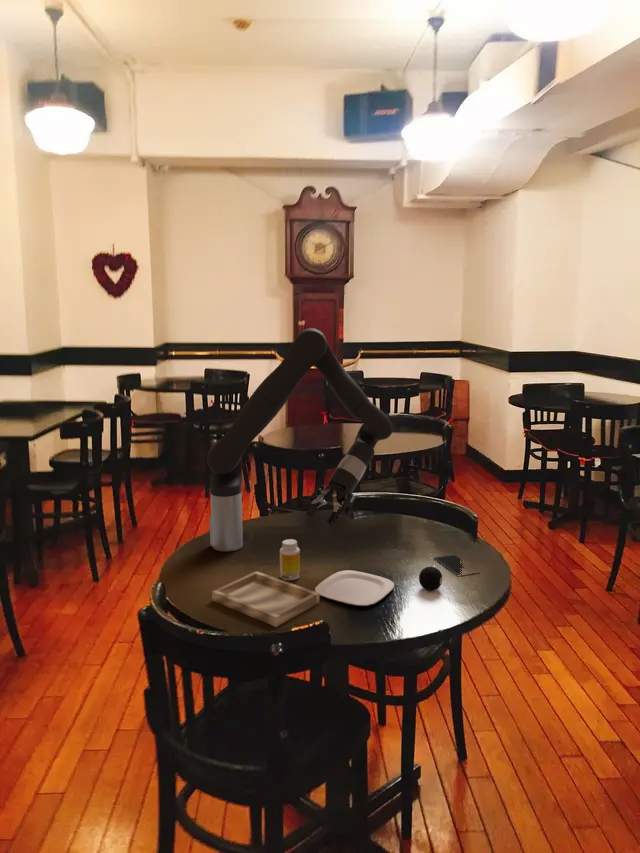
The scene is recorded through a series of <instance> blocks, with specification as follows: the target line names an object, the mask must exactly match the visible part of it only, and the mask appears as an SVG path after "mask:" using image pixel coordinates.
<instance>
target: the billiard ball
mask: <svg viewBox="0 0 640 853" xmlns="http://www.w3.org/2000/svg"><path fill="white" fill-rule="evenodd" d="M418 582H419V584H420V586H421V588H423V589H424V590H426V591H436V590H438V589H439V588H440V587H441V585H442V583H443V575H442V573H441V571H440V570H439V569H438V568H437V567H434V566H426V567H424V568H422V570H421V571H420V572H419V575H418Z"/></svg>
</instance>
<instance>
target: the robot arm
mask: <svg viewBox="0 0 640 853" xmlns="http://www.w3.org/2000/svg"><path fill="white" fill-rule="evenodd" d="M312 367H315V368H316V369H317V370H318V372H319V373H320V374H321V376H323V378H324V379H325V381H326V382H327V383H328V386H329V387H330V388H331V390H332V391H333V393H334V394H335V396H336V397H337V399H338V400H339V402H340V403H341V404H342V405H343V408H345V410H346V411H347V412H348V413H349V415H350V416H352V418H354V419H358V420H360V421H361V422H362V424H361V426H360V427H359V429H358V432H357V434H356V436H355V439H354V442H353V443H352V445H351V446H350V447H349V449H348V451H347V453H346V454H345V456H344V457H343V458H342V459H341V460H340V462H339V464H337V467H336V468H335V469H334V472H333V473H332V474H331V476H330V478H329V480H328V485H327V486H324V485H323V484H322V483H319V484H318V485H317V486H316V488H315V489H314V491H313V492H312V494H310V496H309V498H308V501H309V502H310V503H311V505H310V507H309V508H308V509H307V511H306V513H305V516H306V517H307V518H308V519H310V520H312V519H313V518H314V517H315V515H316V513H317V512H318V511H319V508H321V507H322V506H326V505H332V506H333V511H331V513H330V514H329V516H328V518H327V519H326V521H325V524H326V526H328V527H330V528H331V527H333V526H334V525H335V524H336V522H337V520H338V519H339V518H340V517H341V516H344V517H347V516H348V514H349V513H350V510H351V509H352V507H353V505H354V503H355V501H356V500H357V499H356V497H355V496H354V495H353V494H352V493H353V491H354V490H355V488H356V486H357V485H358V483H359V482H360V481H361V479H362V477H363V476H364V475H365V472H366V470H367V468H368V466H369V464H370V463H371V461H372V460H373V458H374V456H375V452H376V451H375V447H376V445H377V444H378V442H379V441H384V440H387V439H388V438H390V437H391V435H392V434H393V430H394V429H393V424H392V422H391V420H390V418H389V417H388V416H387V414H386V413H385V412H383V410H382V409H380V408H379V407H378V406H376V405H375V404H374V403H372V402H371V400H370V399H369V398H368V396H367V394H365V392H364V391H363V390H362V388H360V386H359V385H358V384H357V382H356V381H355V380H354V379H353V377H351V375H350V374H349V372H347V371H346V369H345V367H343V365H342V363H340V362H339V360H338V358H337V357H336V355H335V354H334V353H333V351H332V348H331V347H330V345H329V343H328V340H327V338H326V336H325V334H324V333H323V332H322V331H321V330H320V329H317V328H314V327H309V328H305V329H303V330H301V331H300V332H299V334H297V336H296V338H295V340H294V342H293V344H292V345H291V347H290V349H289V350H288V352H287V353H286V355H285V357H284V358H283V360H282V361H281V362H280V363H279V364H278V366H276V368H275V369H274V370H273V371H271V372H270V373H269V375H267V377H266V378H264V379H263V381H262V382H261V383H260V384H259V385H258V386H257V387H256V389H255V390H254V392H253V393H252V394H251V395H250V397H249V398H248V400H247V401H246V402H245V404H244V405H243V407H242V408H241V411H239V414H238V415H237V417H236V418H235V420H234V422H233V424H232V426H230V428H229V429H228V430H227V432H225V434H224V435H223V436H222V437H221V438H220V439H218V440H217V441H215V442H214V443H213V445H212V446H211V447H210V448H209V450H208V452H207V457H206V460H207V465H208V467H209V469H210V471H211V478H210V485H209V486H210V488H209V491H210V506H211V507H210V508H211V509H210V510H211V511H210V512H211V513H210V515H209V518H208V519H209V539H210V542H209V543H210V546H211V547H212V548H213V550H215V551H217V552H218V551H219V552H233V551H237V550H239V549H241V548H243V545H244V540H243V538H244V537H243V534H244V533H243V510H242V509H243V506H242V505H243V504H242V481H243V470H242V469H243V467H242V466H243V461H242V460H243V459H242V457H243V454H245V452H246V451H247V449H248V447H249V446H250V445H251V444H252V442H253V441H254V440H255V439H256V438H257V437H258V436H259V435H260V433H262V432H263V431H264V429H265V428H266V427H267V426H268V425H269V424H270V423H271V422H272V421H273V419H274V418H275V417H277V415H278V413H279V412H280V411H281V410H282V408H283V407H284V406H285V405H286V403H287V402H288V400H289V399H290V397H291V396H292V394H293V392H294V391H295V389H296V388H297V386H298V385H299V383H300V381H301V380H302V378H303V377H304V376H305V375H306V373H308V372H309V371H310V370H311V368H312Z"/></svg>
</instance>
